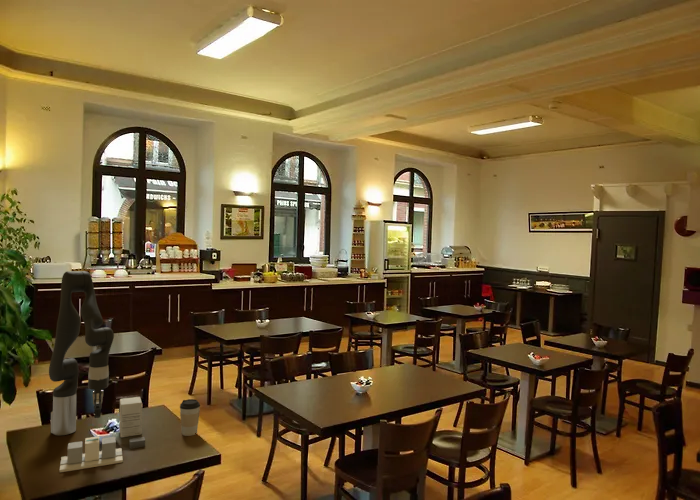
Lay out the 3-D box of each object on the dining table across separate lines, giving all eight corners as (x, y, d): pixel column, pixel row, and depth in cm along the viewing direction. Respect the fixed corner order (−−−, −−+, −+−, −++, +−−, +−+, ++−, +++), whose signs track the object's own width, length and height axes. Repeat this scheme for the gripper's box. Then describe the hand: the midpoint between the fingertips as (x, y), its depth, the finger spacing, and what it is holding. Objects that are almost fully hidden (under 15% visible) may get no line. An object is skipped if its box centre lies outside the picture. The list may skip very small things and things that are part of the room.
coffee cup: (201, 429, 239) (202, 397, 238) (196, 436, 230) (197, 404, 229) (182, 428, 238) (183, 397, 238) (176, 436, 229) (177, 403, 229)
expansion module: (84, 461, 200) (85, 443, 199) (85, 455, 205) (85, 437, 205) (99, 459, 202) (99, 441, 202) (99, 453, 207) (99, 435, 207)
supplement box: (119, 430, 234) (119, 398, 234) (140, 427, 238) (140, 396, 238) (120, 437, 226) (120, 404, 226) (141, 434, 230) (142, 402, 230)
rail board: (59, 472, 193) (59, 453, 193) (61, 459, 204) (61, 441, 204) (122, 462, 203) (122, 444, 203) (121, 450, 214) (121, 433, 213)
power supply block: (129, 449, 216) (129, 442, 215) (129, 445, 219) (129, 438, 219) (145, 446, 218) (145, 440, 218) (144, 443, 222) (144, 436, 222)
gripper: (88, 372, 213) (87, 412, 214) (87, 381, 201) (86, 424, 202) (108, 370, 217) (107, 410, 218) (108, 380, 205) (107, 422, 206)
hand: (97, 417), depth 210 cm, fingers closed
